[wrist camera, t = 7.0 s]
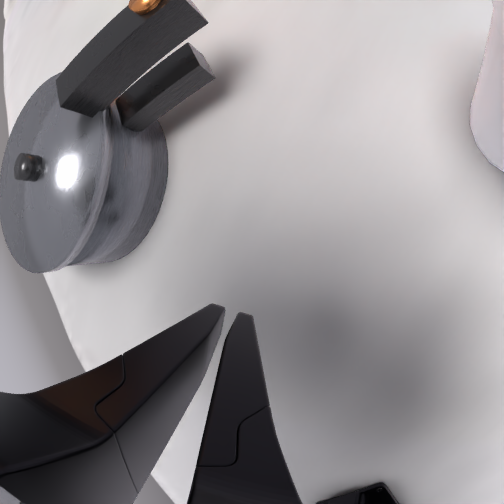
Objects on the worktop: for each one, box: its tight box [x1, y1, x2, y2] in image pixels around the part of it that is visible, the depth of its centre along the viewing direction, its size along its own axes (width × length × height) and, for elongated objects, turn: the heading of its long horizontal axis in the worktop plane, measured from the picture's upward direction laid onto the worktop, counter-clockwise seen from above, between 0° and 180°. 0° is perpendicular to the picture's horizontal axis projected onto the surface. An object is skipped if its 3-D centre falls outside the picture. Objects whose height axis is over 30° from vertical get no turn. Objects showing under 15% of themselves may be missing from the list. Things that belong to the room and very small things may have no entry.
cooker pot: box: [67, 43, 215, 266], centre depth 23 cm, size 15×24×6 cm, turn 116°
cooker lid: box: [0, 0, 208, 273], centre depth 17 cm, size 16×24×4 cm, turn 119°
